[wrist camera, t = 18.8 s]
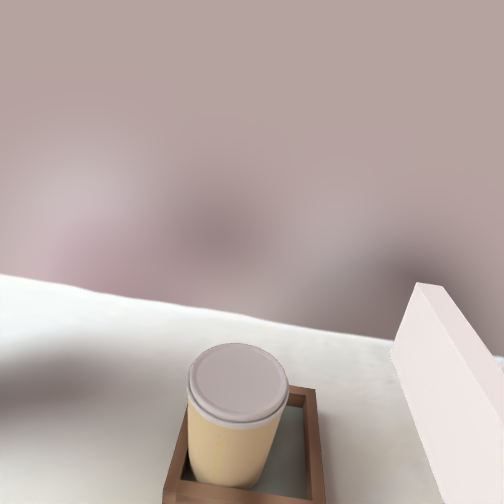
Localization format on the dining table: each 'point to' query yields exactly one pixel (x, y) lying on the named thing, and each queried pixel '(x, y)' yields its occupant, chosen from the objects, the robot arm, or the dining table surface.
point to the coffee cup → (233, 413)
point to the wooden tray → (275, 469)
